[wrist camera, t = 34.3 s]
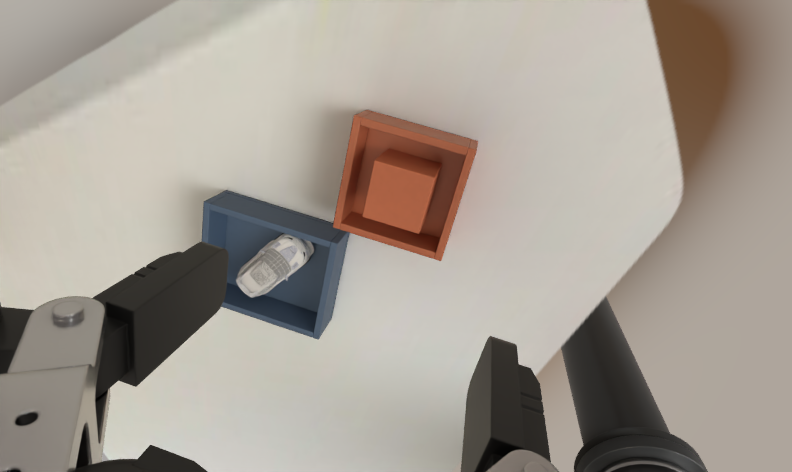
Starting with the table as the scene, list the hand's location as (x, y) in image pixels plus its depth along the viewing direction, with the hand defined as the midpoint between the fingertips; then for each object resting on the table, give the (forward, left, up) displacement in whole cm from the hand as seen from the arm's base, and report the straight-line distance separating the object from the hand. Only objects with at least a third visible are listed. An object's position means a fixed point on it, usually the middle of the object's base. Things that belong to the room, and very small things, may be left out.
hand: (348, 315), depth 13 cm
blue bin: (+12, +14, -24) cm, 30 cm away
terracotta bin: (+2, +3, -24) cm, 24 cm away
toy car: (+12, +14, -24) cm, 30 cm away
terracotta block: (+2, +3, -24) cm, 24 cm away
